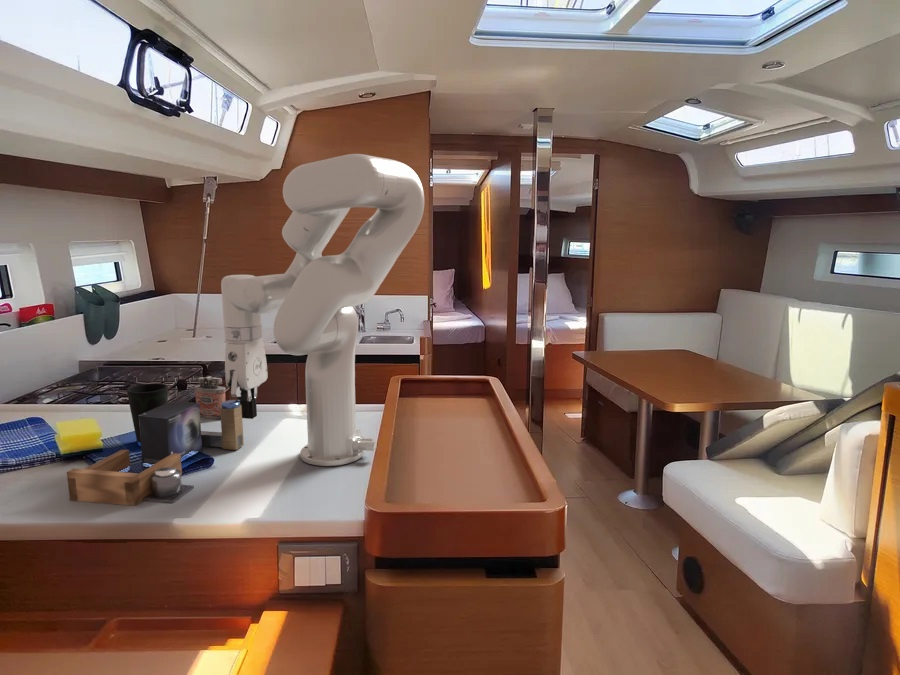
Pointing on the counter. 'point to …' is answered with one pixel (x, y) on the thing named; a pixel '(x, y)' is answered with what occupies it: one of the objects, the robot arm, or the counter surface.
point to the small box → (170, 431)
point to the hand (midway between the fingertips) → (248, 417)
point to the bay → (115, 480)
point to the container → (227, 428)
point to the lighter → (210, 397)
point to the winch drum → (167, 486)
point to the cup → (145, 401)
